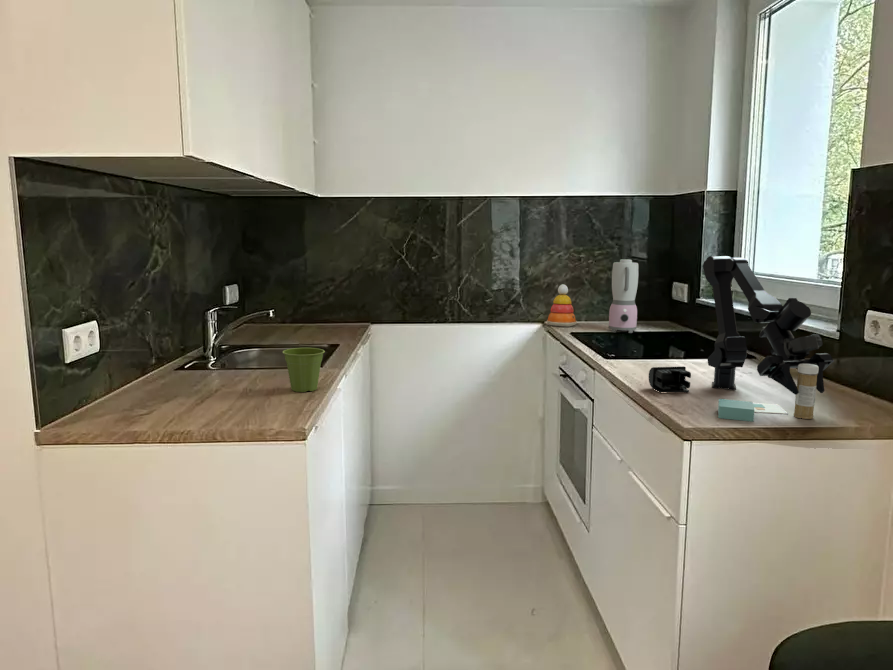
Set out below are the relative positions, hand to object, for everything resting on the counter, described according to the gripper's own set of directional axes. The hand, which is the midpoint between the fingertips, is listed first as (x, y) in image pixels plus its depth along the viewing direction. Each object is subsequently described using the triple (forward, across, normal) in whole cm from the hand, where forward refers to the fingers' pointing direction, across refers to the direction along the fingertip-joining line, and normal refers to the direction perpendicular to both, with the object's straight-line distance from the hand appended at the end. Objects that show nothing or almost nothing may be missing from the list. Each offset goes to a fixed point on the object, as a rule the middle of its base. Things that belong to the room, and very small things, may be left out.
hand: (810, 393), depth 168 cm
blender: (-91, +21, +101) cm, 138 cm away
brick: (0, -16, +9) cm, 18 cm away
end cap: (-19, -18, +29) cm, 39 cm away
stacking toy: (-107, +1, +117) cm, 158 cm away
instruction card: (-3, -6, +12) cm, 14 cm away
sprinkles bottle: (+4, 0, +6) cm, 7 cm away
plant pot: (-34, -121, +44) cm, 133 cm away
